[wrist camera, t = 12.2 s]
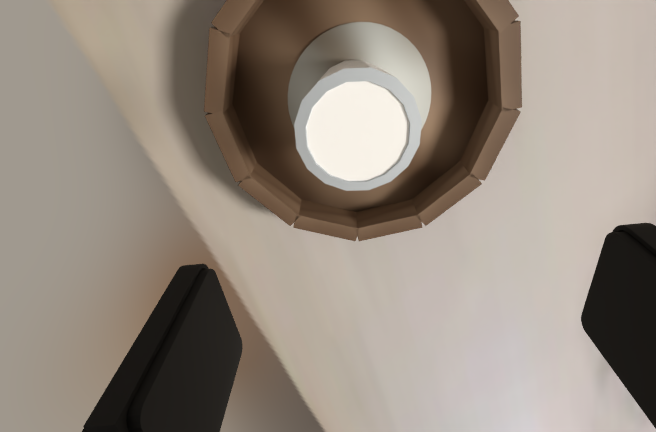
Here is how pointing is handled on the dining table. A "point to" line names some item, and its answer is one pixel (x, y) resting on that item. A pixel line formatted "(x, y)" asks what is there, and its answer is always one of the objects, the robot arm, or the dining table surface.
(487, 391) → the dining table surface
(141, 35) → the dining table surface
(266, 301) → the dining table surface
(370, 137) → the white cup
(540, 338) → the dining table surface
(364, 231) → the round wooden tray
